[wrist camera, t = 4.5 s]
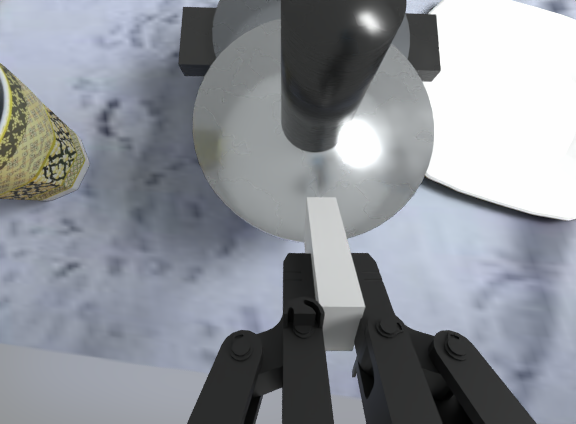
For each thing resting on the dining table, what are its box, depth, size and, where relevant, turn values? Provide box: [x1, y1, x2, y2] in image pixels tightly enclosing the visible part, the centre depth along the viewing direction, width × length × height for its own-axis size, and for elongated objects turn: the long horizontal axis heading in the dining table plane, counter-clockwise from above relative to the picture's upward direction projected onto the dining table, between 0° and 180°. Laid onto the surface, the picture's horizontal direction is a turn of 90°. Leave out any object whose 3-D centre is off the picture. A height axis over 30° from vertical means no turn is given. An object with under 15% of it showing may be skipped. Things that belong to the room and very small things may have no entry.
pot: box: [179, 0, 441, 82], centre depth 25 cm, size 20×15×7 cm
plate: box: [423, 0, 576, 221], centre depth 28 cm, size 22×22×2 cm
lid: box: [193, 0, 434, 243], centre depth 15 cm, size 16×16×10 cm
